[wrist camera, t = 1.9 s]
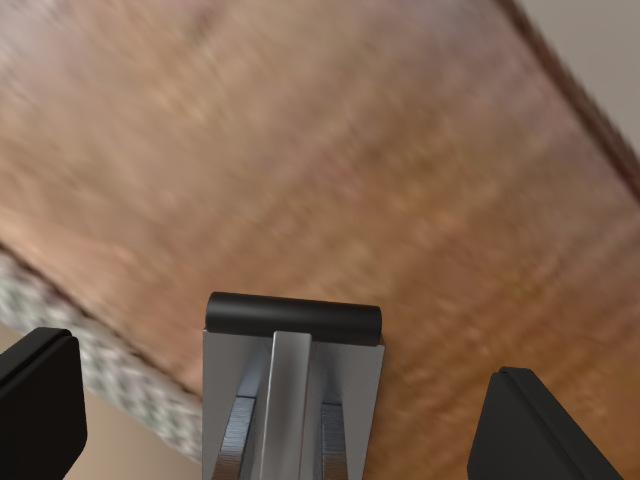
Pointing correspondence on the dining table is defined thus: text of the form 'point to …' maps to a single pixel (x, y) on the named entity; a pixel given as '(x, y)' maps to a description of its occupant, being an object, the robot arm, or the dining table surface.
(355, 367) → the press bracket
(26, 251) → the dining table surface
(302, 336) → the press lever
